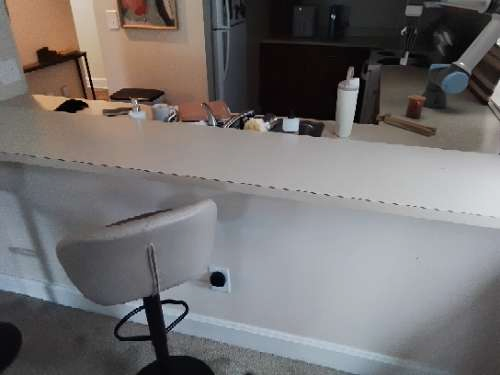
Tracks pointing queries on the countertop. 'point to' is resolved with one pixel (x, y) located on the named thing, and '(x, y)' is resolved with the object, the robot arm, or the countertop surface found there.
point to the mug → (415, 106)
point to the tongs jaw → (419, 125)
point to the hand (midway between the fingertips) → (402, 64)
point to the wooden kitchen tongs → (403, 124)
